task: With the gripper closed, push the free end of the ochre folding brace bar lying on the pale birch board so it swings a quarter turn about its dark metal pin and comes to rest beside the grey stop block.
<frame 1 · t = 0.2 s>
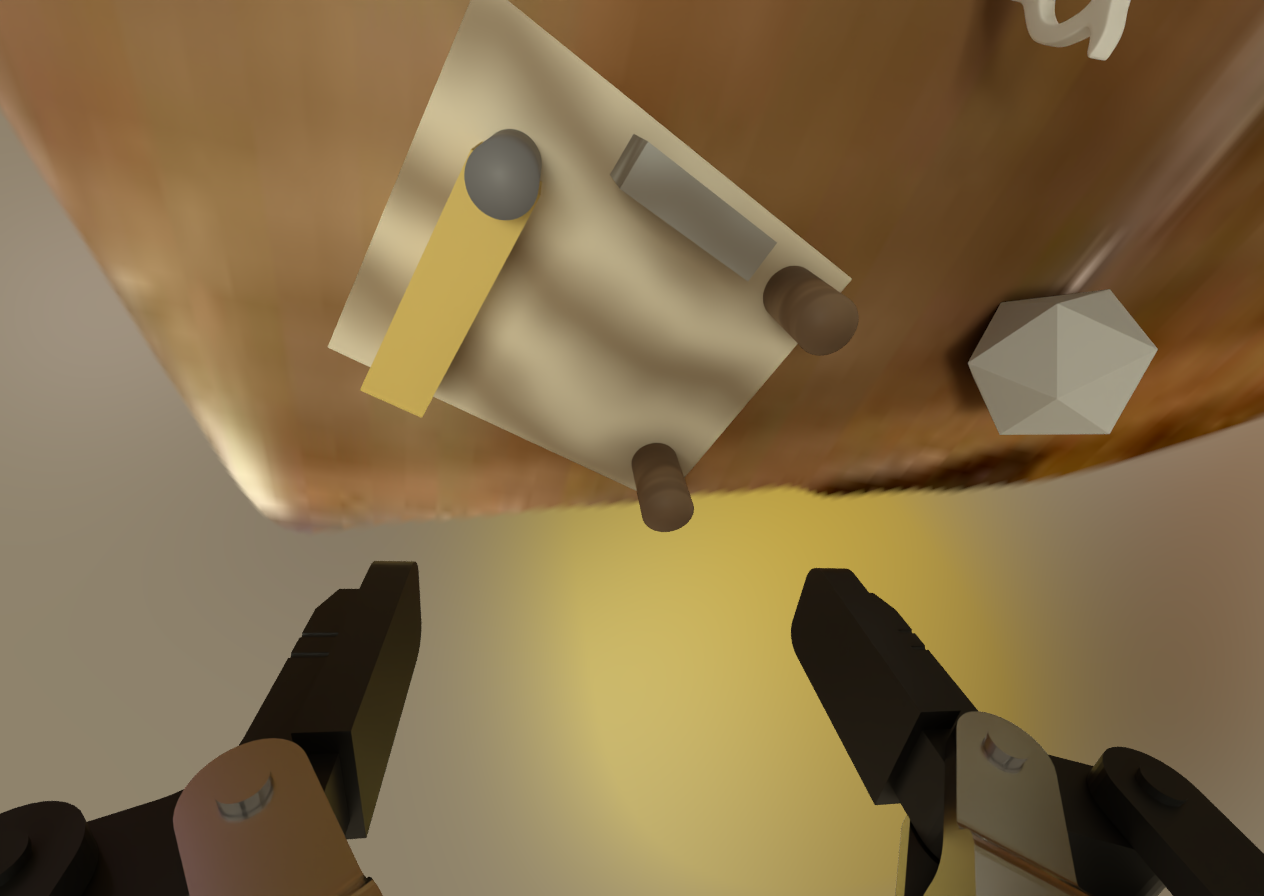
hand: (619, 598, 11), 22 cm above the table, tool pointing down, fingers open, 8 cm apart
brace bar: (452, 282, 24), point 5 cm above the table, hinge at 0.0°
die: (1005, 338, 35), on the table
seat board: (594, 303, 30), on the table
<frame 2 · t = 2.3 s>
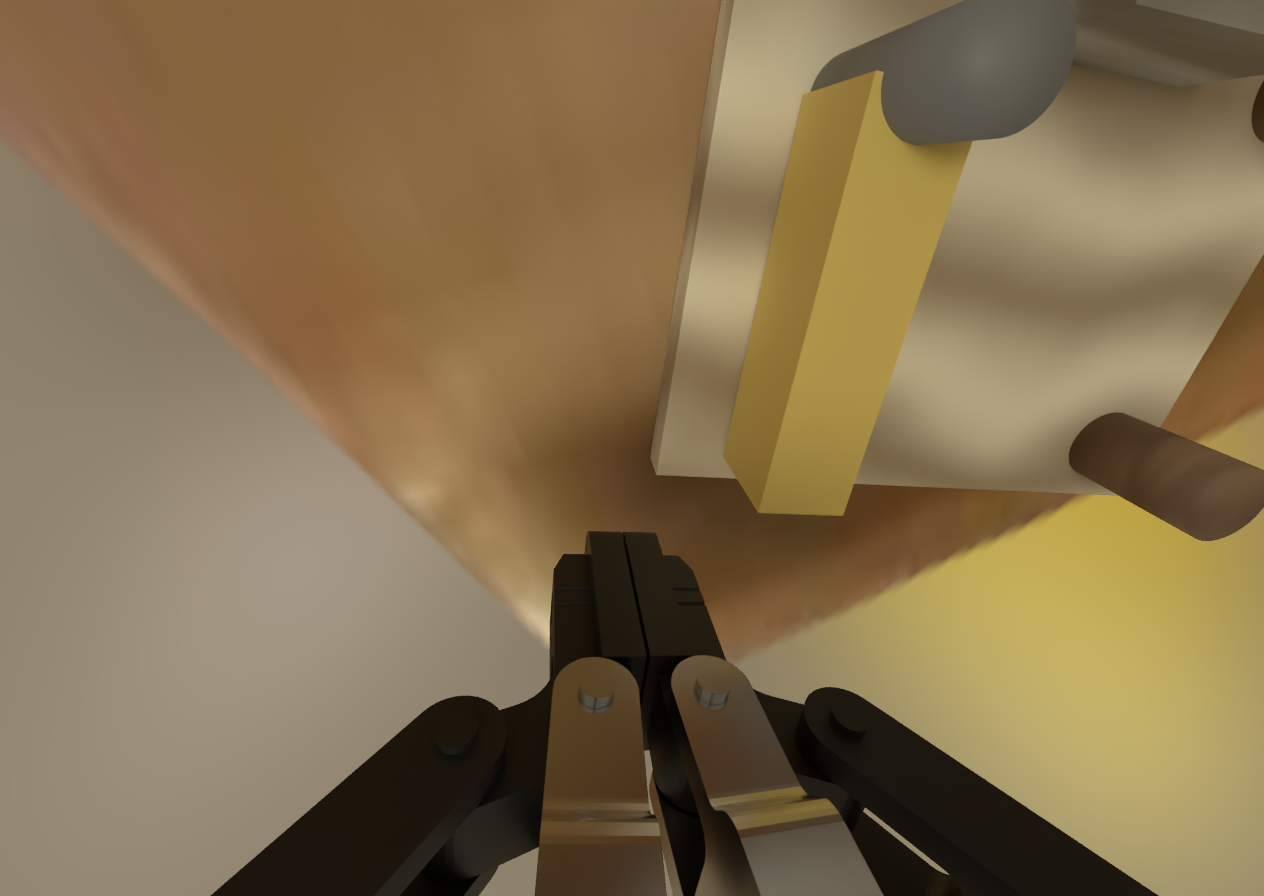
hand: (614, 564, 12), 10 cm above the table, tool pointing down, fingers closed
brace bar: (849, 305, 16), point 5 cm above the table, hinge at 0.0°
seat board: (965, 261, 21), on the table
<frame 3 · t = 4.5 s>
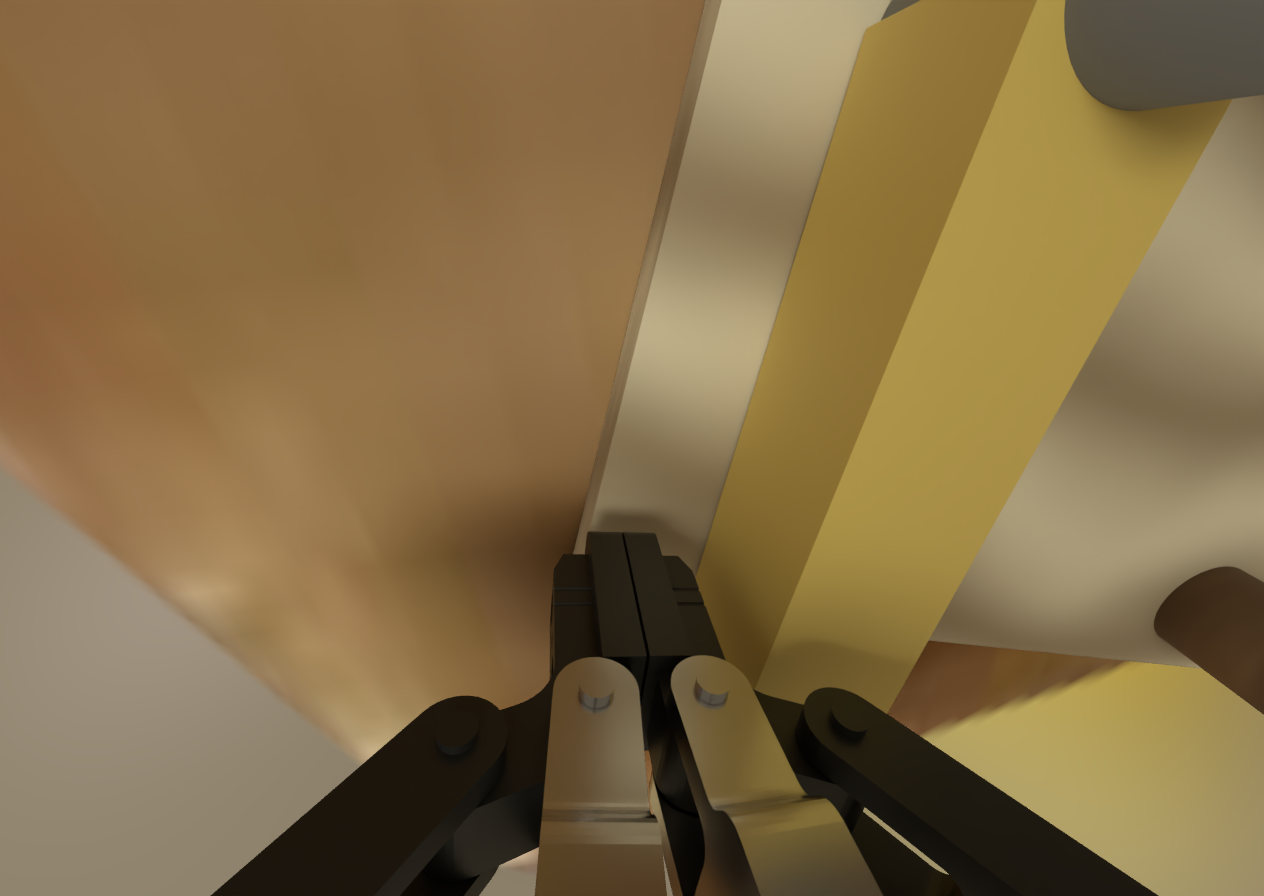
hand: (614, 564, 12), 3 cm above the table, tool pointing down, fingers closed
brace bar: (926, 403, 9), point 5 cm above the table, hinge at 2.2°, touching gripper
seat board: (1059, 336, 14), on the table
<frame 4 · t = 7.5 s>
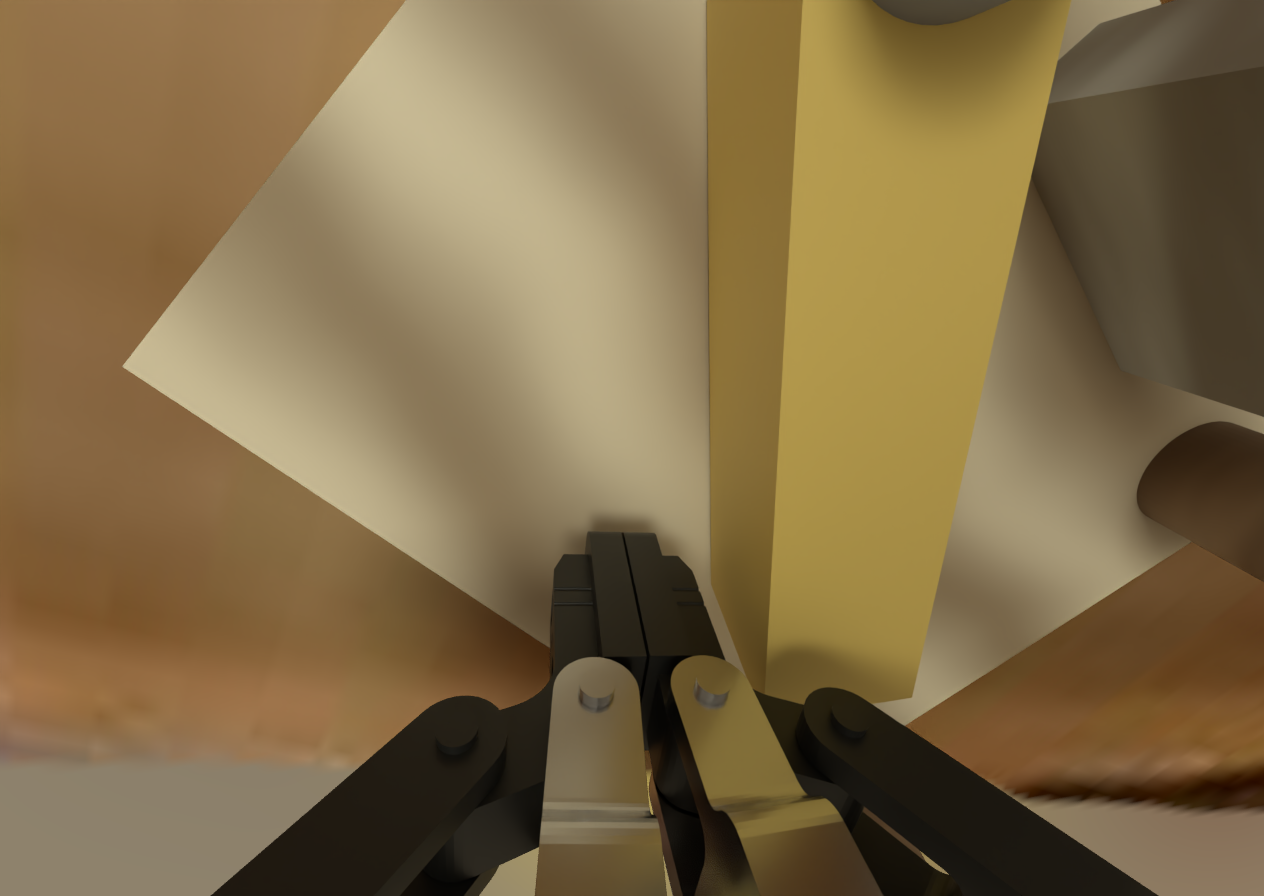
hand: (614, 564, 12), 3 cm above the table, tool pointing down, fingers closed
brace bar: (856, 367, 8), point 5 cm above the table, hinge at 51.5°, touching gripper
seat board: (799, 405, 14), on the table
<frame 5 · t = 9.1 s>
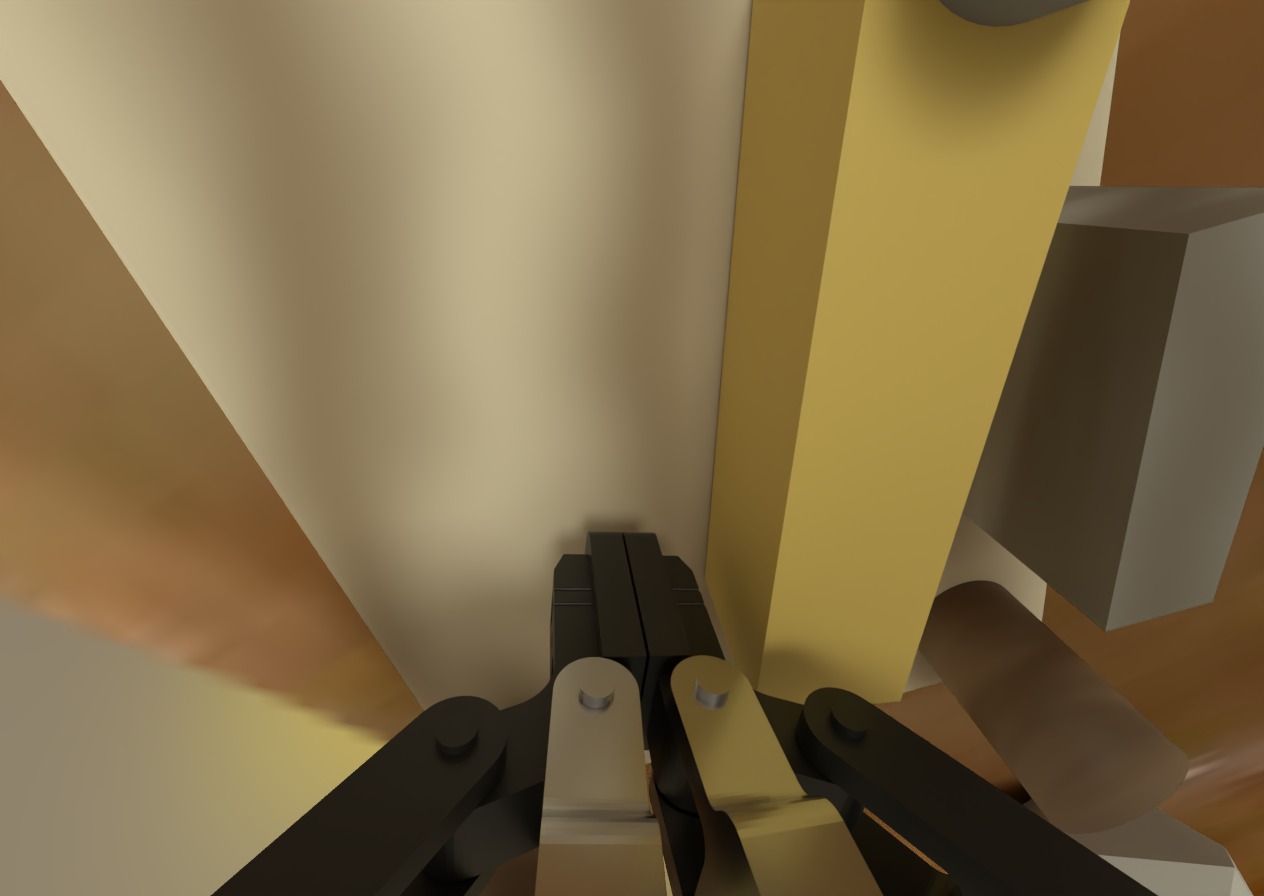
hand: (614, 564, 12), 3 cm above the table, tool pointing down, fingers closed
brace bar: (877, 367, 8), point 5 cm above the table, hinge at 75.1°, touching gripper
die: (1045, 803, 24), on the table
seat board: (678, 405, 13), on the table
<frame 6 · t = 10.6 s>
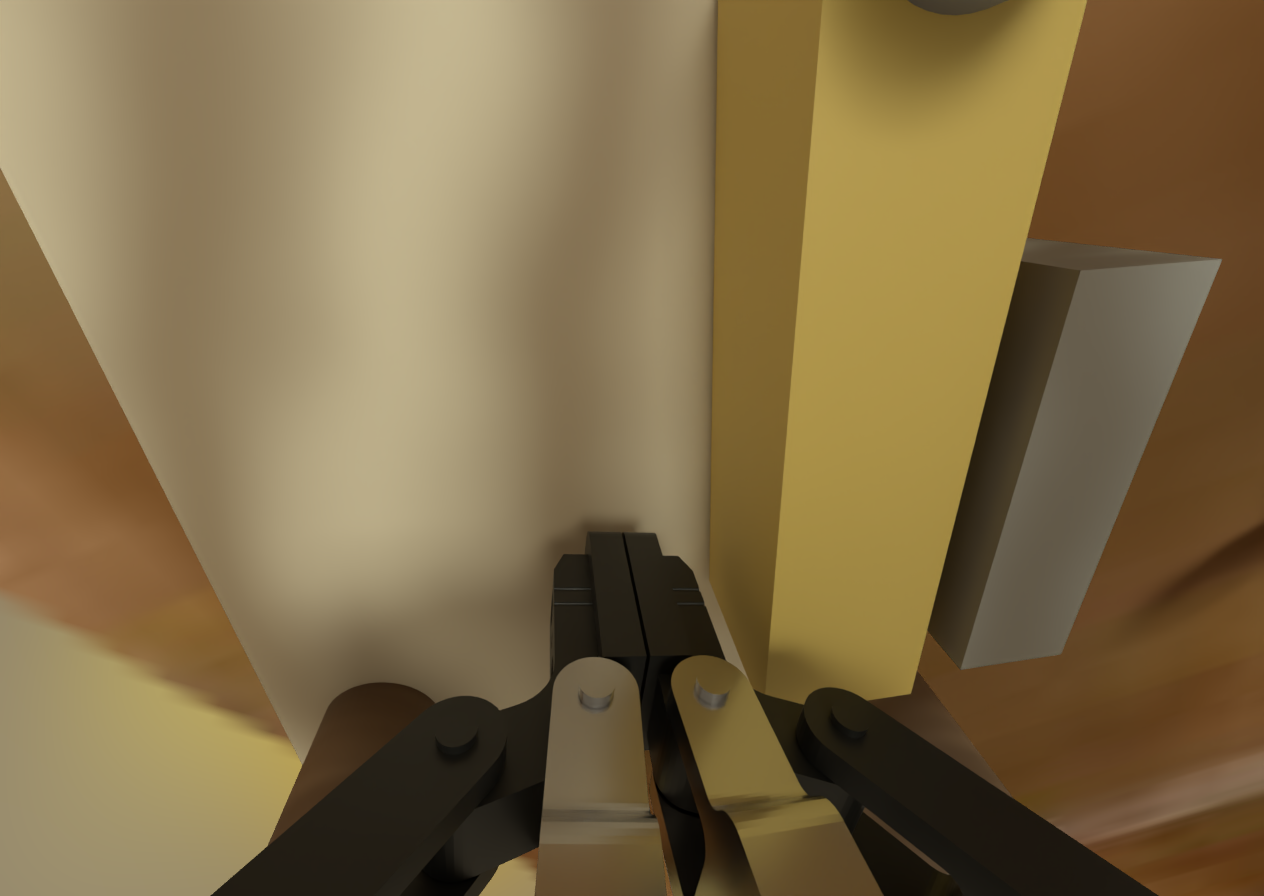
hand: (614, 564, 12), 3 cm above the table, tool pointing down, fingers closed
brace bar: (864, 361, 8), point 5 cm above the table, hinge at 89.9°, touching gripper
seat board: (592, 385, 13), on the table
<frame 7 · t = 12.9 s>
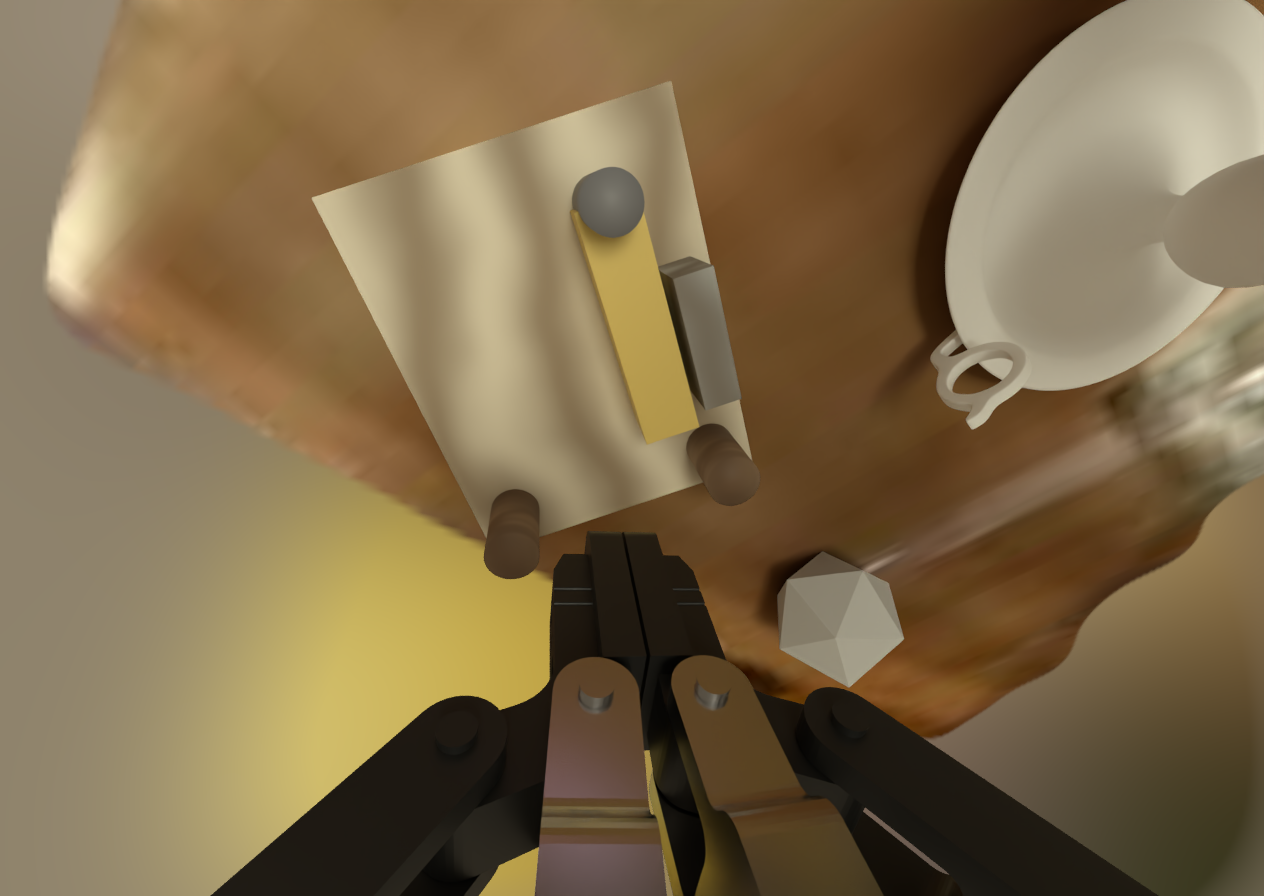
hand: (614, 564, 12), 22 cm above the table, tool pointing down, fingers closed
brace bar: (636, 314, 27), point 5 cm above the table, hinge at 90.1°
candlestick: (1037, 240, 34), on the table
die: (810, 580, 43), on the table
seat board: (567, 346, 32), on the table
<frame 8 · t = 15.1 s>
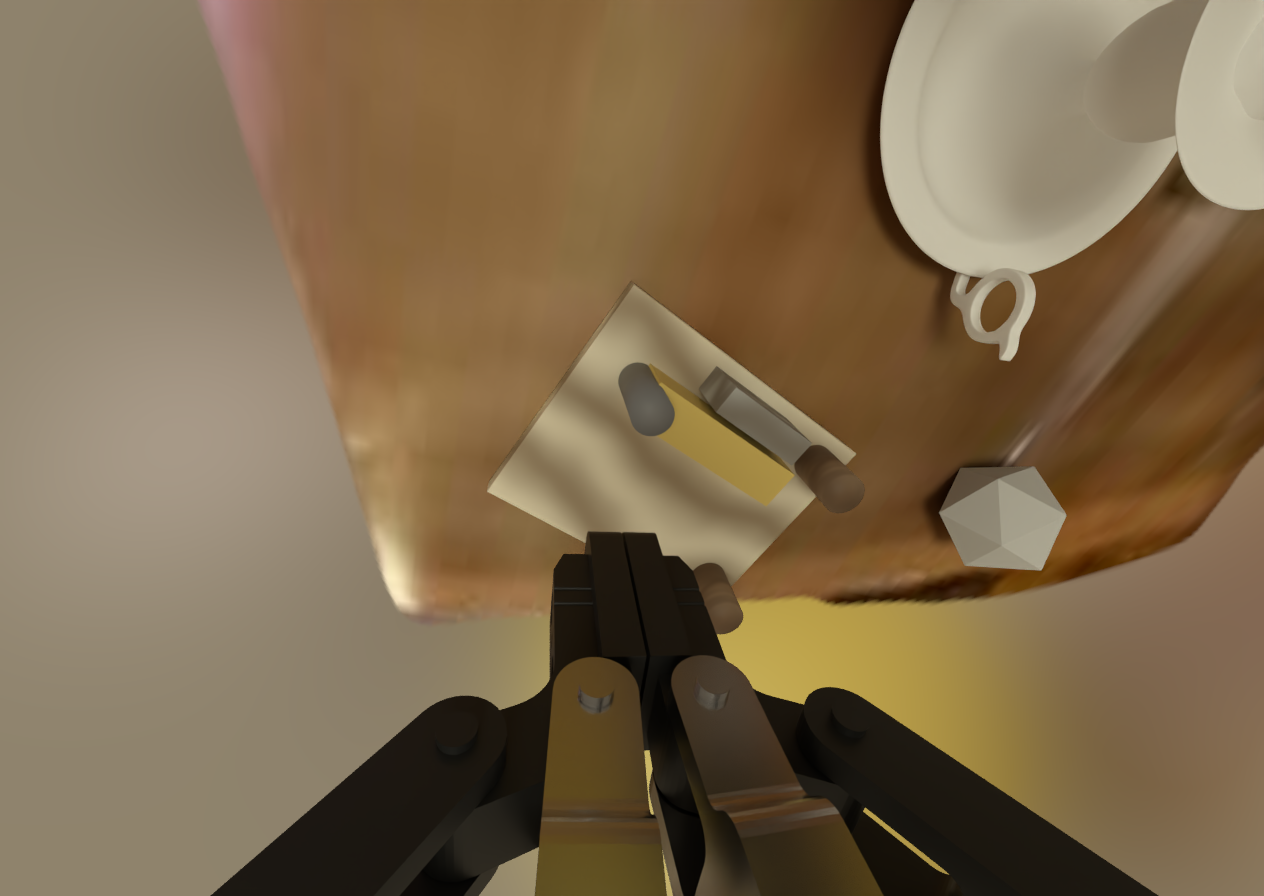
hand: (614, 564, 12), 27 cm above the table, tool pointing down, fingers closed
brace bar: (706, 438, 36), point 5 cm above the table, hinge at 90.1°
candlestick: (992, 139, 35), on the table
die: (965, 491, 48), on the table
seat board: (674, 462, 42), on the table
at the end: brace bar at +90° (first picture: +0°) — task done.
